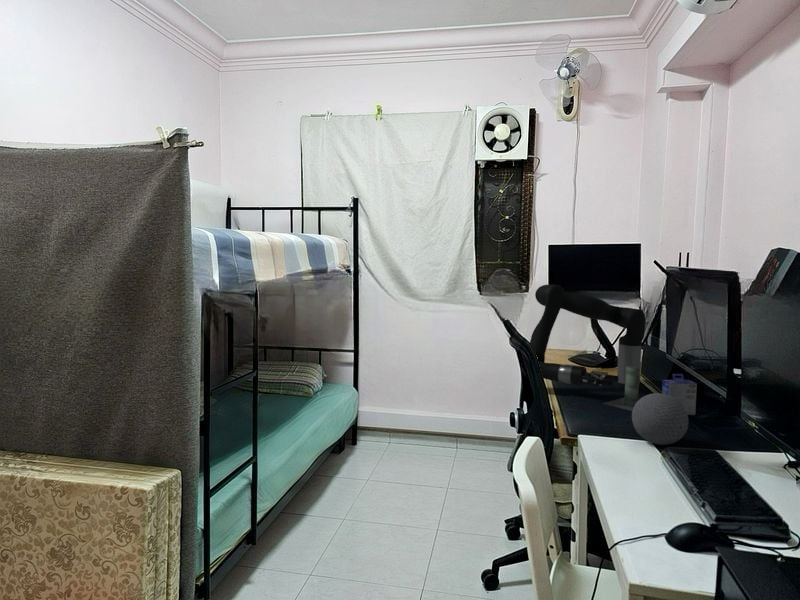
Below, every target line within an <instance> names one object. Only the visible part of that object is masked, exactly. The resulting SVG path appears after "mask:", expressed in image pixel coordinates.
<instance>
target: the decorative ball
mask: <svg viewBox="0 0 800 600" xmlns="http://www.w3.org/2000/svg"><path fill="white" fill-rule="evenodd" d="M631 420H632V421H631V422H632V425H633V428H634V429H635V431H636V433H637V434H638V435H639V436H640V437H641V438H643V439H644V440H645V441H647V442H649V443H651V442H652V444H655V445H660V446H665V445H666V446H667V445H671V444H675V443H676V442H678V441H680V440H681V439H682V438H683V437H684V436H685V434H686V433H687V431H688V427H689V415H687V412H686V410H685V408H684V407H683V405H682V404H681V403H680V402H679V401H678V400H676V399H675V398H673V397H671V396H669V395H666V394H662V392H661V393H658V392H655V393H649V394H647V395H644V396H642V397H640V398H639V399H638V401H637V403H636V404H635V406H634V408H633V411H631Z"/></svg>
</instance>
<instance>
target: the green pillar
mask: <svg viewBox="0 0 800 600" xmlns="http://www.w3.org/2000/svg"><path fill="white" fill-rule="evenodd" d="M639 373H640V368H639V367H633V366H627V367H626V377H625V384H624V397H623V398H624V405H626V406H631V407H634V406H635V404H636V403H637V401H638V400H639V390H640V389H639V387H640V383H639Z"/></svg>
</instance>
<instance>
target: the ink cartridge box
mask: <svg viewBox="0 0 800 600" xmlns="http://www.w3.org/2000/svg"><path fill="white" fill-rule="evenodd" d="M678 376H679V377H678ZM697 387H698V383H697V382H695V381H692V380H690V379H685V378H684V374H683V373H672V379H663V380H662V383H661V388H662V389H661V394H666V395H669V396H671V397H673V398H675V399H676V400H678V401H679V402H680V403H681V404H682V405H683V407H684V408H685V410H686V412H687V415H688V416H689V415H690V416H696V409H697V408H696V407H697V406H696V405H697V390H698V388H697Z"/></svg>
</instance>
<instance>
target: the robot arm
mask: <svg viewBox="0 0 800 600" xmlns="http://www.w3.org/2000/svg"><path fill="white" fill-rule="evenodd" d="M534 297H535V299H536V302H537V303H539V305H542V307H543V306H544V311H543V314H542V316H541V318H540V320H539V322H537V324H536V326H535V328H534V329H533V331H532V334H531V336H530V340H529V344H531V346H532V347H533V349H534V351H535V353H536V355H537V357H538V362H539V365H540V369H541V373H542V376H543V378H542V379H546V380H549V381H553V382H559V383H563V384H568V385H574V386H580V387H583V386H585V385H589V386H596V387H599V386H606V387H613V386H614V382H615V383H619V384H622V385H625V377H626V367H627V366H633V367H639V368H640V373H639V384H640V383H641V373H642V346H643V344H642V343H643V341H644V339H645V338H644V337H645V331H646V323H647V321H646V319H647V318H646V314H645V312H644V311H643V310H642V309H638V308H632V307H624V306H618V305H617V306H616V305H612V304H609V303H608V302H606V301H605V300H603V299H601V298H598V297H594V296H591V295H587V294H581V293H574V292H566V291H565V289H564V287H562V286H561V285H558V284H542V285H540V286H538V288H536V290H535V295H534ZM561 309H562V310H564V311H567V312H570V313H572V314H575V315H578V316H581V317H584V318H588V319H592V320H596V321H606V322H607V323H608V322H609V323H611V324H614V325H616V326H619V327H620V328H623V329H625V331H626V332H625V335H622V336H620V337H619V338H618V350H617V351H618V353H617V373H616V375H613V374H609V373H608V372H604V371H597V370H592V371H590V372H588V371H587V367H585V366H581V365H573V364H566V363H565V364H561V363H554V362H545V359H546V352H547V347H548V344H549V340H550V337H551V333H552V330H553V328H554V326H555V322H556V320H557V318H558V315H559V313H560V311H561ZM520 370H521V373H522V375H524V376H525V377H527V376H526V373H525V371H524V369H523V368H522V364H521V367H520Z"/></svg>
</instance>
